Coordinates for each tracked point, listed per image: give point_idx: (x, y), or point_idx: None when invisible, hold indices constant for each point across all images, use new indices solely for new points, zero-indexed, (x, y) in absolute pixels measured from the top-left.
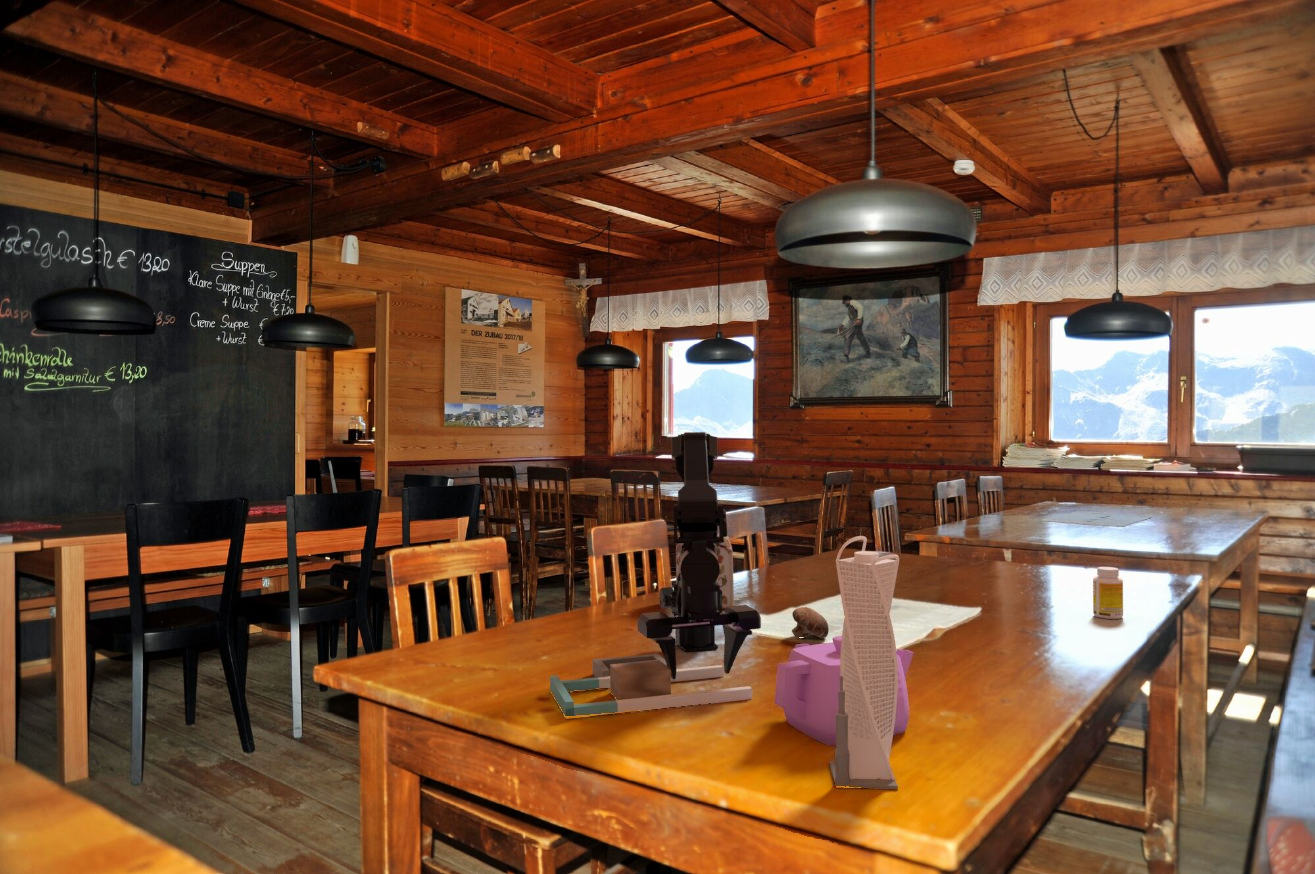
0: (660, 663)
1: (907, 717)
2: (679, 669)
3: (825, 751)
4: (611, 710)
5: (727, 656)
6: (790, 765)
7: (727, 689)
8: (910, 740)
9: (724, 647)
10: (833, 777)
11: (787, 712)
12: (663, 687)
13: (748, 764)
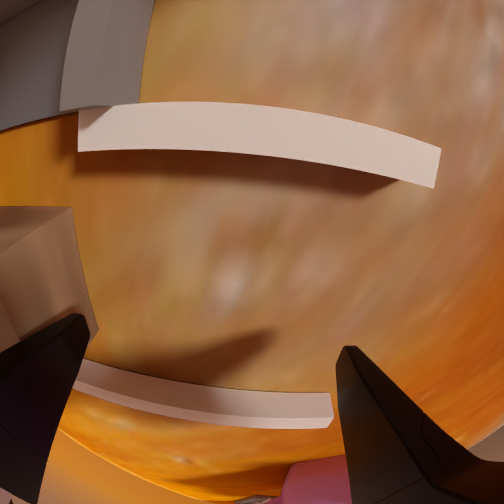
0: (6, 324)
1: None
2: (165, 110)
3: (272, 489)
4: None
5: (355, 433)
6: (220, 491)
7: (257, 421)
8: None
9: (396, 436)
10: (240, 501)
11: (286, 483)
12: None
13: (182, 482)
